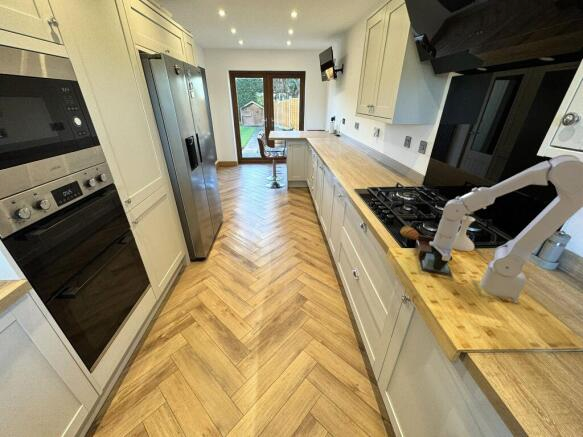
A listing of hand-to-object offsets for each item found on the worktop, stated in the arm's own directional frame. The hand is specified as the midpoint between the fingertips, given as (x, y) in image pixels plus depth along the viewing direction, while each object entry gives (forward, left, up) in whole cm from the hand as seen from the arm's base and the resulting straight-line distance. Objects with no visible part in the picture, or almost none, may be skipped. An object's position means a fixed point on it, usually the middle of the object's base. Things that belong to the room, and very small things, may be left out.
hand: (435, 265), depth 86 cm
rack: (0, -5, -2) cm, 5 cm away
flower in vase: (-13, -22, -2) cm, 26 cm away
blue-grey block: (0, 0, -1) cm, 1 cm away
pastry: (+6, -24, -2) cm, 25 cm away
